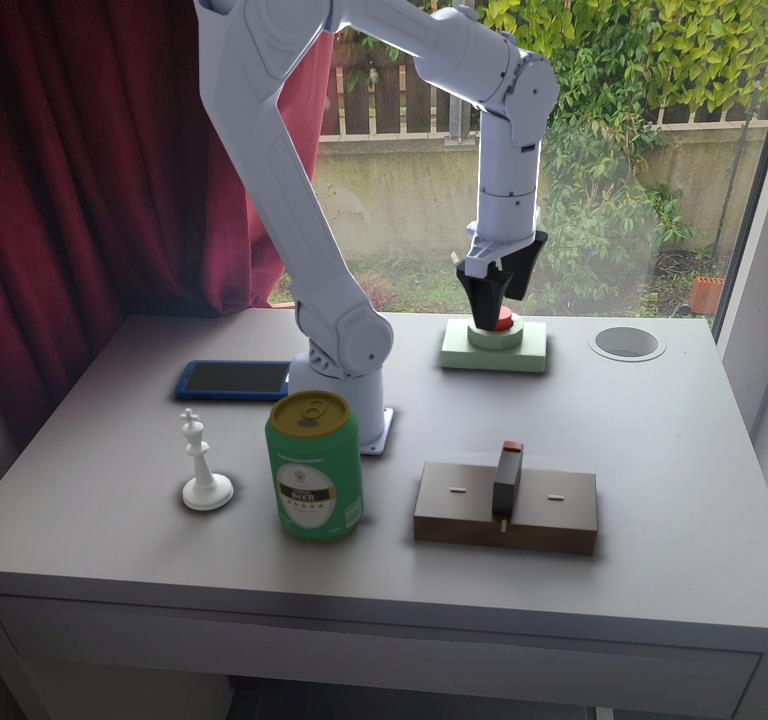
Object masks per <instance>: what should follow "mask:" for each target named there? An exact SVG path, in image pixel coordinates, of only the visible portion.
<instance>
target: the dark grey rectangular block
mask: <svg viewBox="0 0 768 720" xmlns="http://www.w3.org/2000/svg"><path fill="white" fill-rule="evenodd" d="M524 448H525V444H524V443H523V442H519V441H512V440H511V441H510V440H504V441H503V443H502V448H501V452H500V456H499V460H498V463H497V464H498V465H497V466H496V467H497V471H496V475H495V478H494V483H493V498H492V514H499V515H506V516H512V513H513V509H514V504H515V500H516V495H517V491H518V486H519V482H520V477H521V470H522V468H523V459H524V458H523V457H524Z"/></svg>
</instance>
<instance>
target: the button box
mask: <svg viewBox="0 0 768 720" xmlns="http://www.w3.org/2000/svg"><path fill="white" fill-rule="evenodd" d="M547 329H548V323H547V322H543V321H542V322H540V321H525V320H524V319H523V318H522V317H521V316H519V314H517V313H515V312H512V321H511V328H510V329H508V330H505V331H501V332H494V331H493V332H490V331H486V330H481V329H477V328H476V326H475V323H474V319H473V315H471V316H470V317H468V318H455V317H454V318H453V317H452V318H451V317H449V318H448V319H447V324H446V329H445V332H444V337H443V341H442V346H441V350H440V367H441V368H454V369H472V370H473V369H474V370H475V369H476V370H492V371H510V372H531V373H545V365H546V364H545V363H546V353H547V351H546V350H547V331H548V330H547Z"/></svg>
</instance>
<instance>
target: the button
mask: <svg viewBox="0 0 768 720" xmlns="http://www.w3.org/2000/svg"><path fill="white" fill-rule="evenodd" d="M512 313H513V311H512V310H511V308H509V307H507V306H504V305H501V310H500V316H499V321H498V324H497V327H496V329H495V330H494V332H501V331H505V330H508V329H510V328H511V321H512Z"/></svg>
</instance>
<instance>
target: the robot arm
mask: <svg viewBox="0 0 768 720" xmlns="http://www.w3.org/2000/svg"><path fill="white" fill-rule="evenodd" d="M192 1H193V4H194V8H195V13H196V16H197V20H198V65H199V66H198V69H199V72H198V73H199V74H198V75H199V96H200V99H201V102H202V105H203V107H204V111H206V113H207V115H208V118H209V119H210V122H211V124H212V126H213V128H214V129H215V131H216V133H217V135H218V137H219V139H220V142H221V143H222V145H223V147H224V149H225V151H226V153H227V155H228V157H229V159H230V161H231V163H232V165H233V167H234V169H235V171H236V173H237V175H238V177H239V179H240V181H241V183H242V185H243V187H244V188H245V190H246V192H247V195H248V197H249V198H250V200H251V202H252V203H251V204H252V205H253V206H254V209H255V210H256V212H257V214H258V216H259V218H260V220H261V222H262V225H263V227H264V228H265V230H266V232H267V234H268V236H269V238H270V240H271V242H272V244H273V246H274V248H275V250H276V252H277V254H278V256H279V258H280V260H281V262H282V264H283V266H284V268H285V270H286V272H287V273H288V275H289V278H290V280H291V282H290V284H289V285H288V290H289V292H290V294H291V296H292V299H293V302H294V320H295V324H296V326H297V328H298V330H299V331H300V332H301V334H303V335H304V336H305V337H306V338H308V346H309V351H307V352H299V353H295V354H294V355H293V357H292V359H291V360H290V361H291V364H290V369H289V376H288V395H291V394H294V393H297V392H302V391H309V390H319V391H327V392H331V393H334V394H337V395H339V396H341V397H342V398H343V399H345V400H346V402H347V403H348V405H349V408H350V409H351V410H352V411H353V412H354V413H355V415H356V417H357V421H358V432H359V446H360V455H377V456H378V455H382V454H383V452H384V449H385V445H386V441H387V438H388V436H389V435H388V434H389V431H390V427H391V423H392V420H393V417H394V409H393V408H390V407H385V400H384V397H385V396H384V380H383V379H384V376H383V367H384V363H385V361H386V360H387V359H388V357H389V356H390V354H391V352H392V350H393V345H394V340H395V339H394V338H395V337H394V329H393V326H392V324H391V323H390V321H389V320H388V319H387V318H386V317H385V316H383V314H381V313H380V312H378V311H377V310H375V308H374V306H373V304H372V302H371V300H370V298H369V296H368V295H367V292H365V291H364V289H363V287H361V285H360V284H359V283H358V281H357V280H356V278H355V277H354V276H353V275H352V273H351V272H350V271H349V268H348V267H347V264H346V262H345V259H344V257H343V254H342V252H341V250H340V248H339V246H338V244H337V241H336V238H335V236H334V234H333V232H332V230H331V228H330V225H329V223H328V221H327V218H326V216H325V214H324V212H323V210H322V208H321V205H320V203H319V200H318V198H317V195H316V193H315V191H314V189H313V186H312V184H311V182H310V180H309V177H308V175H307V173H306V170H305V168H304V165H303V163H302V161H301V159H300V157H299V154H298V152H297V150H296V147H295V145H294V143H293V141H292V138H291V136H290V133H289V131H288V129H287V126H286V124H285V123H284V120H283V118H282V115H281V113H280V110H279V108H278V106H277V105H278V104H277V103H278V99H279V97H280V94H281V92H282V91H283V87H284V85H285V82H286V81H287V79H288V78H290V75H291V74H292V73H293V71H294V70H295V69H296V67H297V66H298V65H299V63H300V62H301V61H302V59H304V56H305V55H306V54H307V53H308V51H309V50H310V49H311V47H312V46H313V44H314V43H315V42H316V40H317V39H318V37H319V36H320V35H321V33H322V32H324V33H327V34H330V35H334V34H336V33H339V31H341V30H342V29H343V28H345V27H346V26H348V27H350V28H352V29H355V30H357V31H358V32H362V33H363V34H366V35H367V36H370V37H372V38H374V39H376V40H379V41H381V42H383V43H385V44H388V45H390V46H391V47H394V48H396V49H399V50H400V51H403V52H405V53H407V54H409V55H411V56H412V59H413V64H414V68H415V70H416V72H417V75H418V76H419V78H420V79H421V80H423V81H425V82H426V83H429V84H431V85H433V86H435V87H437V88H439V89H441V90H443V91H445V92H447V93H450V94H451V95H454V96H456V97H458V98H459V99H461V100H464V101H466V102H468V103H470V104H472V106H473V107H474V108H475V110H478V111H479V110H480V123H479V124H480V125H479V126H480V127H479V129H480V130H479V155H478V157H479V158H478V184H477V212H476V216H477V217H476V220H475V221H471V222H470V223H469V224H468V225H467V226H466V227H465V233H466V234H467V235H469V236H473V237H472V242H471V245H470V250H469V252H468V253H467V255H465V257H464V258H465V259H463V260H462V261H460V263H458V264H457V265H456V267H455V268H456V269H455V270H456V271H455V275H456V278H457V279H458V281H459V282H460V284H461V285H462V288H463V289H464V291H465V293H466V296H467V299H468V303H469V307H470V309H471V315H472V316H473V319H474V323H475V326H476V328H477V329H481V330H486V331H490V332H493V331H494V330H495V329H496V327H497V324H498V321H499V316H500V310H501V306H503V305H502V304H503V301H504V300H503V299H504V298H505V299H509V300H515V301H518V302H522V301H523V300H524V299H525V296H526V293H527V291H528V287H529V283H530V280H531V277H532V274H533V271H534V268H535V266H536V263H537V261H538V258H539V256H540V254H541V252H542V251H543V249H544V247H545V246H546V244H547V242H549V241H548V240H549V234H548V232H546V231H543V230H538V229H537V227H538V226H539V225H540V218H541V206H536V205H537V193H538V181H539V169H540V157H541V145H542V141H543V138H544V135H546V133H547V122H548V119H549V116H550V114H551V113H552V111H553V110H554V108H555V105H556V103H557V102H558V98H559V95H560V91H561V84H560V83H558V82H557V77H556V73H555V69H554V68H553V67H552V62H551V61H550V60H549V58H548V57H547V56H545V55H544V54H541V53H539V52H536V51H532V50H527V49H525V48H521V47H518V46H517V44H516V42H517V36H516V35H514V34H512V33H511V32H508V31H505V30H502V31H500V32H499V33H498V32H496V31H495V30H493V29H491V28H490V27H487V25H484V24H482V23H481V22H479V21H477V20H478V18H479V11H477V10H475V9H473V8H472V7H470V6H467V5H463V4H458V6H457V8H454V7H451V6H446V7H442V8H440V9H438V10H436V11H434V12H433V13H431V14H429V13H427V12H425V11H424V10H422V9H420V8H419V7H417V6H416V5H414V4H413V3H411V2H409V1H408V0H192ZM536 229H537V230H536ZM498 259H500V265H501V269H500V267H499V265H497V261H496V260H498Z"/></svg>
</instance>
